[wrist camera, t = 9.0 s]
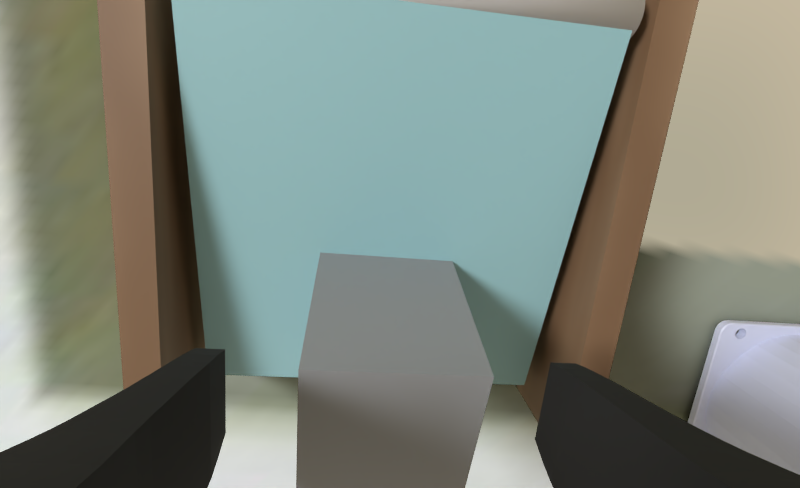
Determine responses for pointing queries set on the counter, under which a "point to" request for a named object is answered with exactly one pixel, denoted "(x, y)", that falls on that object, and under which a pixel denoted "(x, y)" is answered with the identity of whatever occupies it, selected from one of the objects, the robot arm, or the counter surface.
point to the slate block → (389, 376)
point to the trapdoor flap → (389, 153)
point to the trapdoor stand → (173, 222)
